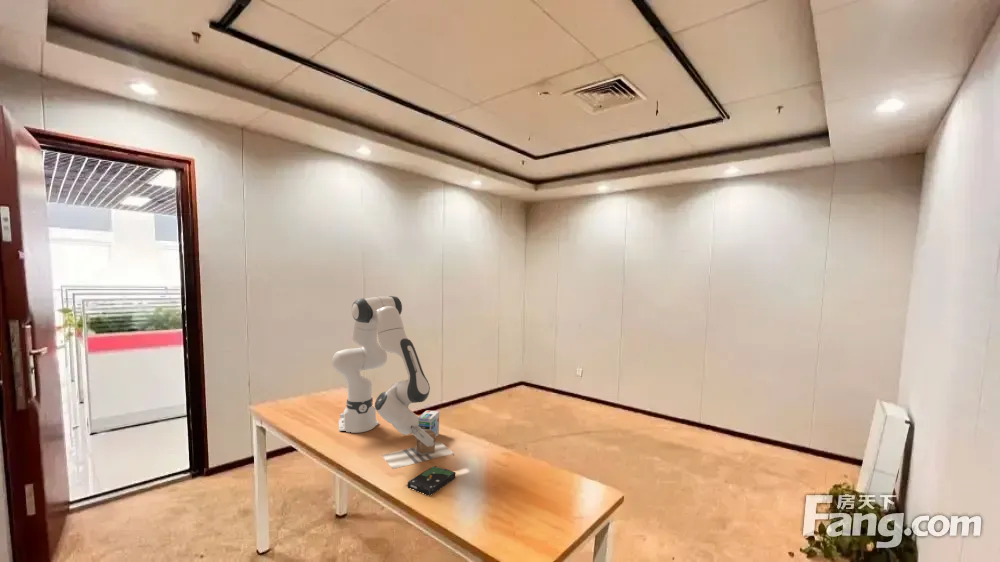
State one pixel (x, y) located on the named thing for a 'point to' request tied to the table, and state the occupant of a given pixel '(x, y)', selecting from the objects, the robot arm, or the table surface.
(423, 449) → the block
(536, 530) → the table surface
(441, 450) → the board
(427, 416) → the light bulb box
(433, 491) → the disk drive
